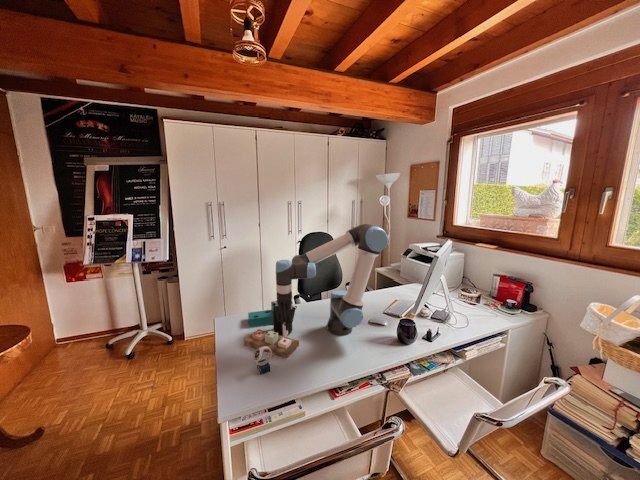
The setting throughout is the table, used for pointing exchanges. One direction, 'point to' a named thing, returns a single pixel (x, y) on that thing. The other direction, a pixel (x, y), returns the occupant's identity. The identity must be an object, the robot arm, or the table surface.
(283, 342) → the die
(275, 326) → the coffee jar
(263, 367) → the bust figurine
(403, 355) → the table surface
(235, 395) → the table surface
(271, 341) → the die
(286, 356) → the wooden dice tray
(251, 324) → the teal l-shaped bracket
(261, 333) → the die
